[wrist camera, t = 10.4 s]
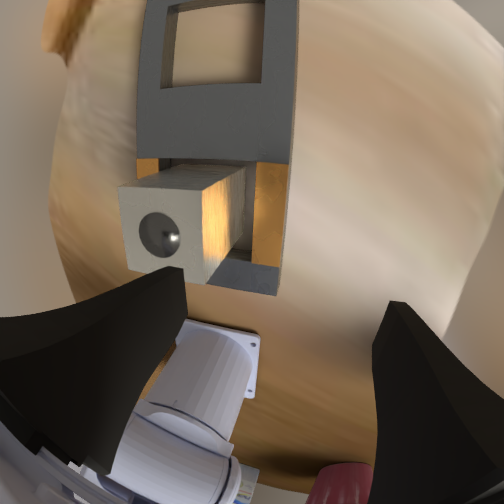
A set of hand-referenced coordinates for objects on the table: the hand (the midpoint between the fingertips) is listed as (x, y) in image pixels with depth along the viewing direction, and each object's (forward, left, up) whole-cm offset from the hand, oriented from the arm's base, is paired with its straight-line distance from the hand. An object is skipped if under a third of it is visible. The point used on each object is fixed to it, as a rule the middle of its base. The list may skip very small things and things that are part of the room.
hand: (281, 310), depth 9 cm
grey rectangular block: (+1, +6, -10) cm, 11 cm away
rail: (+6, +6, -9) cm, 13 cm away
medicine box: (-49, +3, -10) cm, 50 cm away
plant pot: (-41, -15, -10) cm, 45 cm away
